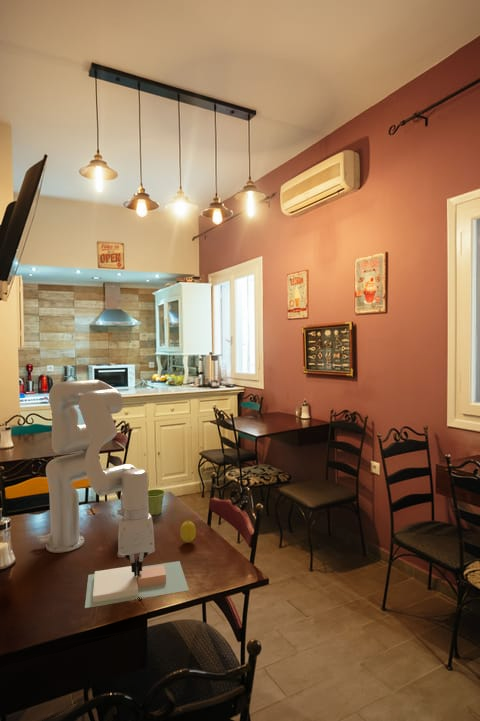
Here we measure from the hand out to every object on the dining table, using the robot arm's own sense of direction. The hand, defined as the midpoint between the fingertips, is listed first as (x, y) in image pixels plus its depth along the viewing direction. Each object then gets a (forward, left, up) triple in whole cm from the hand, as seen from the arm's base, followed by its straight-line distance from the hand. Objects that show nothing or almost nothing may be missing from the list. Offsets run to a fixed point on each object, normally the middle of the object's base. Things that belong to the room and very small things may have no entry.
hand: (136, 573), depth 128 cm
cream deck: (-6, 0, -3) cm, 7 cm away
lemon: (+19, +22, -3) cm, 29 cm away
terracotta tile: (+4, 0, -3) cm, 5 cm away
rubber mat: (0, 0, -3) cm, 3 cm away
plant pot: (+10, +55, -3) cm, 56 cm away
